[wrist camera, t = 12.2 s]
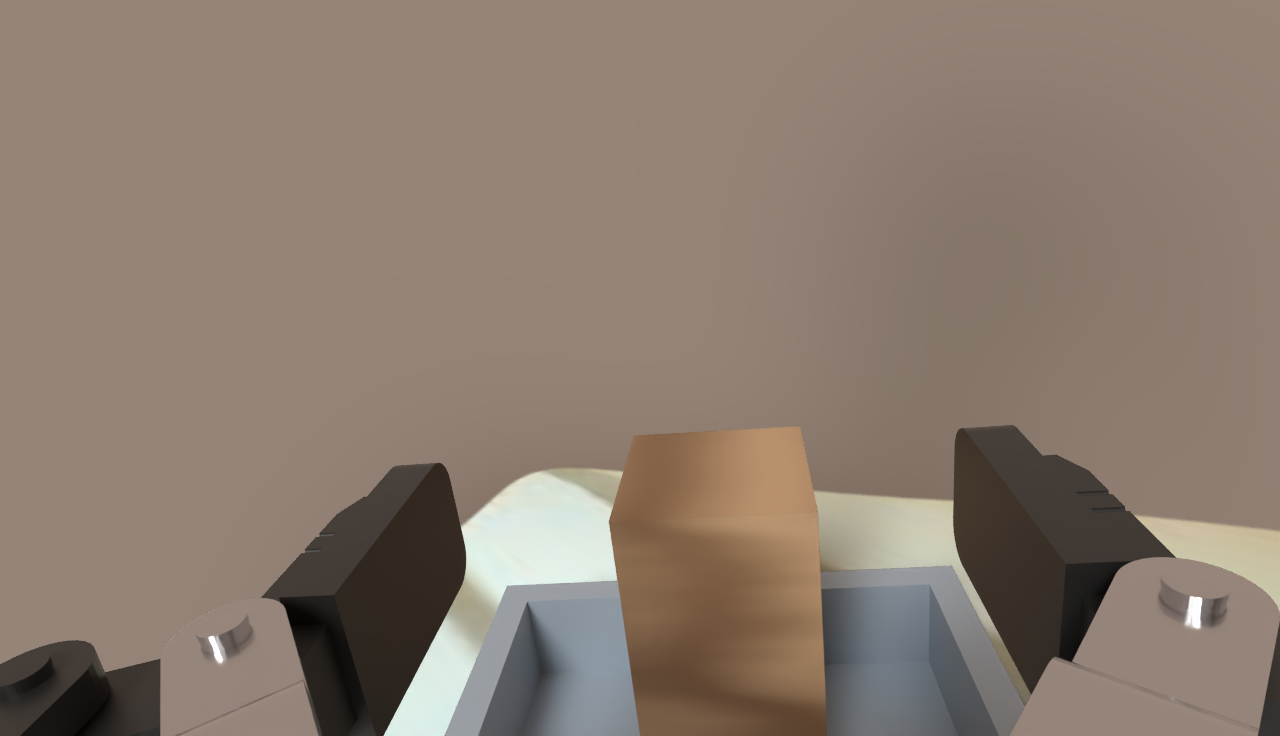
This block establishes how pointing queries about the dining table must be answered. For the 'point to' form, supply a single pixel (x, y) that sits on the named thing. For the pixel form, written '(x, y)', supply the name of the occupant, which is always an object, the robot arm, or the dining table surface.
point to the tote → (853, 661)
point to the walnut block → (721, 584)
